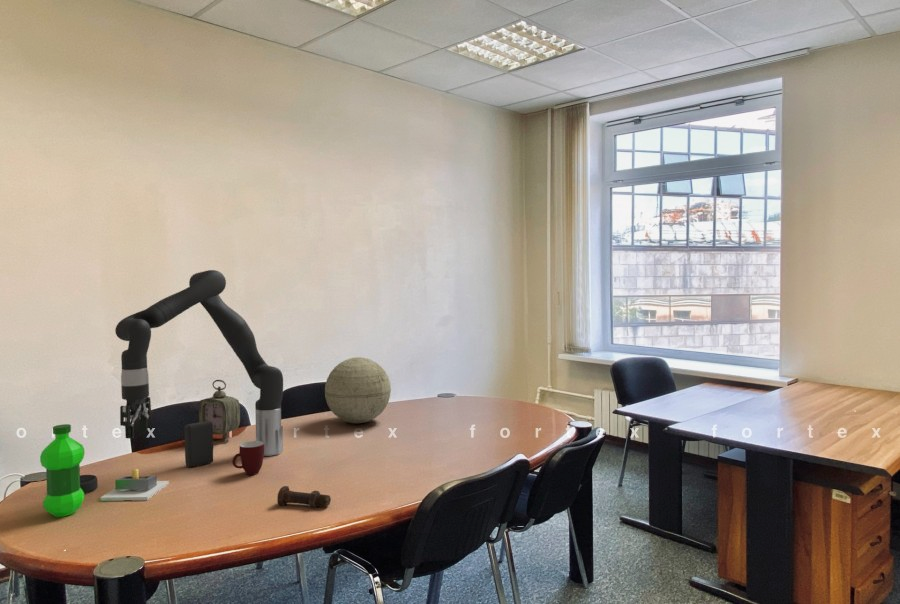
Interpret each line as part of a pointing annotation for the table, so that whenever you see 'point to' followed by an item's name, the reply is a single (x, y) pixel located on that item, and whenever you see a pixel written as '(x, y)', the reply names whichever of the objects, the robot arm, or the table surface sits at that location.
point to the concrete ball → (357, 390)
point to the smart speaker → (88, 483)
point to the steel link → (135, 482)
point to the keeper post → (133, 491)
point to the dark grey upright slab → (198, 443)
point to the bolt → (302, 498)
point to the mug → (250, 456)
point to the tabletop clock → (220, 412)
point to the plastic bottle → (62, 473)
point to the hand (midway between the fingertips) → (136, 434)
